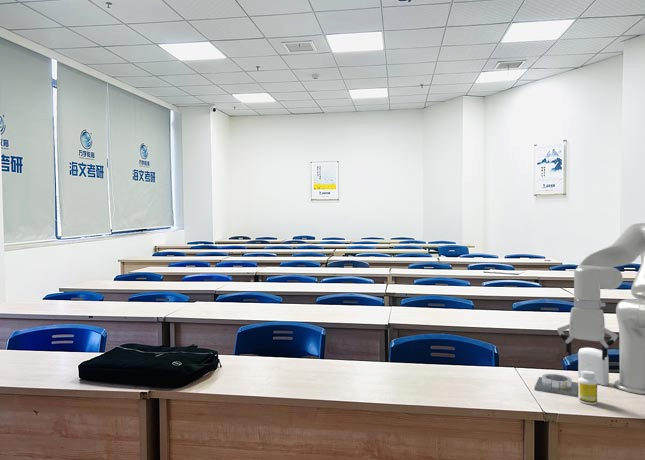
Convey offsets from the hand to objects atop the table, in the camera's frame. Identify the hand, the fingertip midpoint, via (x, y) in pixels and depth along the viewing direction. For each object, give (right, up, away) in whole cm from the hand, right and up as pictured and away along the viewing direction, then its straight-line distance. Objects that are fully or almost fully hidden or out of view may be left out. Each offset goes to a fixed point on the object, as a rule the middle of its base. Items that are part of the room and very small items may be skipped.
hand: (586, 357), depth 154 cm
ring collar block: (-3, -15, +14) cm, 21 cm away
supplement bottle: (+1, -15, 0) cm, 15 cm away
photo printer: (+14, -15, +20) cm, 29 cm away
